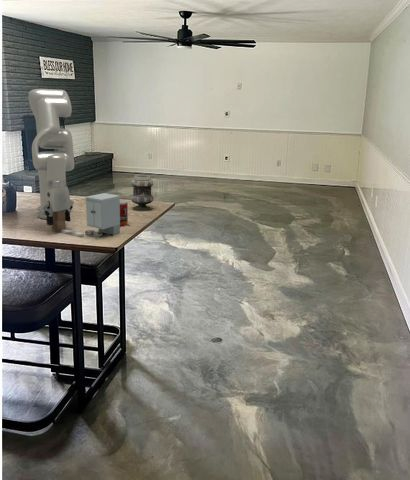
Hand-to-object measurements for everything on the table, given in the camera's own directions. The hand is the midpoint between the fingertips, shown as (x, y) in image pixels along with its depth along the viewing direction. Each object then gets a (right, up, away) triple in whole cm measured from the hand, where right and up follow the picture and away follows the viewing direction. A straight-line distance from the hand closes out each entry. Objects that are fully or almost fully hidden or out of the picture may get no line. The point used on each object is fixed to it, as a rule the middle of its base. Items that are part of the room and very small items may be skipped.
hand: (58, 222), depth 213 cm
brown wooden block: (+5, -5, -1) cm, 7 cm away
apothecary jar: (+30, +9, +49) cm, 58 cm away
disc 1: (+14, -5, -1) cm, 15 cm away
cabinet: (+20, -5, 0) cm, 20 cm away
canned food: (+23, 0, +17) cm, 29 cm away
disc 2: (+18, -6, -4) cm, 19 cm away
